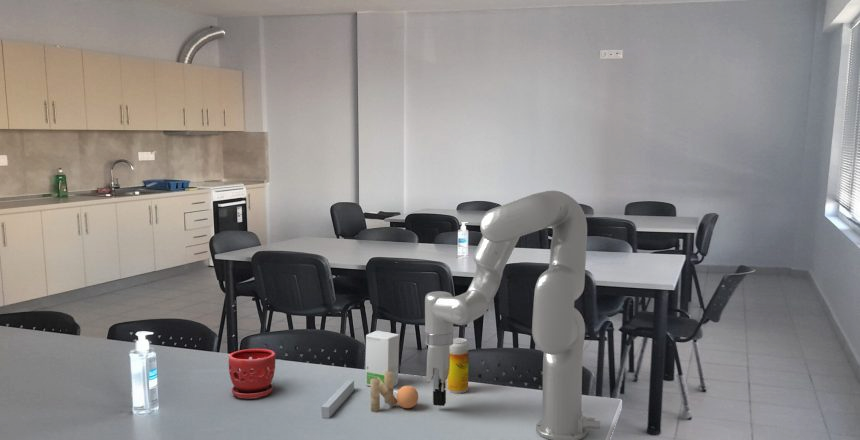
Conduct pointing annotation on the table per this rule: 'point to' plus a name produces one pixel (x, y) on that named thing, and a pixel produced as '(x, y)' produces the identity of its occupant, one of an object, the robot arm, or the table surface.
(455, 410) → the table surface
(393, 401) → the front pin
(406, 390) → the ball
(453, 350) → the yellow canister
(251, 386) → the plant pot
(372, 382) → the rear pin left
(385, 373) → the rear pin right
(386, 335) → the skincare box
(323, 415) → the back rail
